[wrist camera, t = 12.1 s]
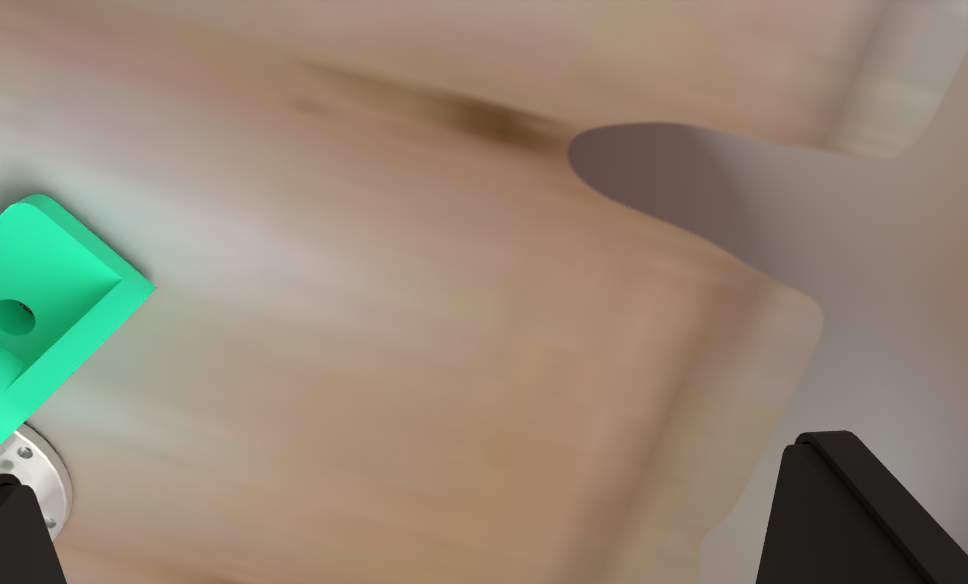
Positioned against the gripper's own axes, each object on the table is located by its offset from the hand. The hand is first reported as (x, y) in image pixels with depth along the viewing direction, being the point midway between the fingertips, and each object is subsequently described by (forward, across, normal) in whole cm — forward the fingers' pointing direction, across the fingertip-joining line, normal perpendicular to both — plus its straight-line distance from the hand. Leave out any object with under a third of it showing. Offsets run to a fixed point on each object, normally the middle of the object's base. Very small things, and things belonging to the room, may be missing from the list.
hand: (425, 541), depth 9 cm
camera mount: (+31, +23, +10) cm, 39 cm away
